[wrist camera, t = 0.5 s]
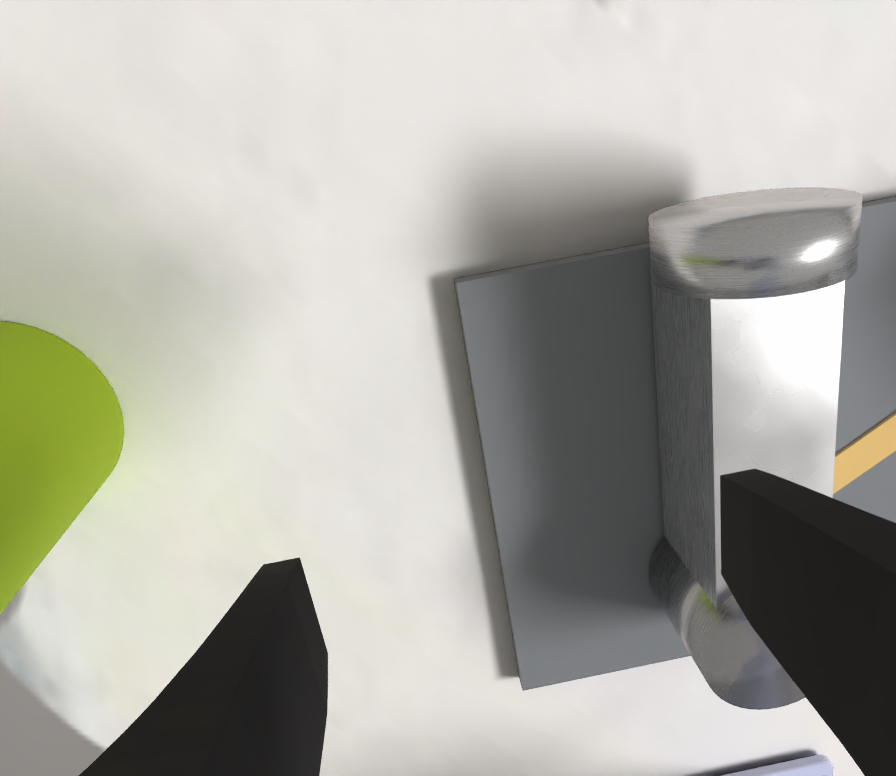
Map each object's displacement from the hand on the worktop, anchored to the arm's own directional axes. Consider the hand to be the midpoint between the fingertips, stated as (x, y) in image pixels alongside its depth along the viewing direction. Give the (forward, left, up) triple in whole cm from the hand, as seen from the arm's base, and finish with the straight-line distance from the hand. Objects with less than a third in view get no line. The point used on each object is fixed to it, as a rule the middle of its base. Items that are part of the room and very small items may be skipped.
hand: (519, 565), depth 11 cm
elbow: (-3, -7, -9) cm, 12 cm away
